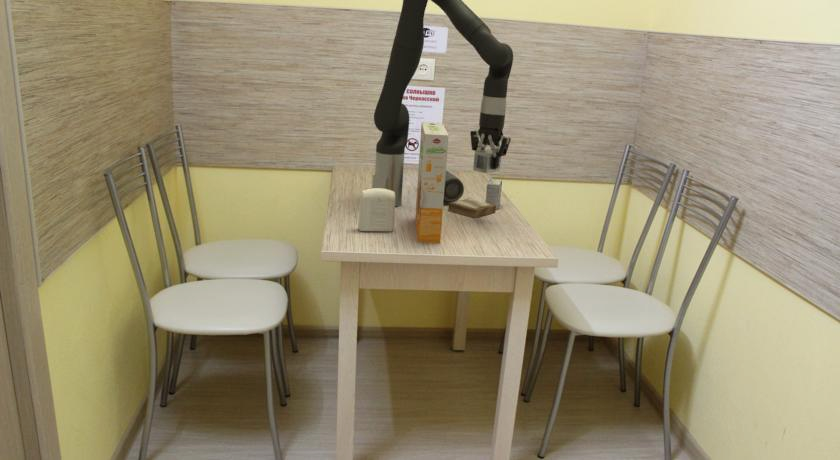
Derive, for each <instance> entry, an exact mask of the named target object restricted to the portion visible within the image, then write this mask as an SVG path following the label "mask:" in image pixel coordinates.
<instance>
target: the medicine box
mask: <svg viewBox="0 0 840 460" xmlns="http://www.w3.org/2000/svg"><path fill="white" fill-rule="evenodd" d="M486 185H487V186H486V193H485V203H489V204H492V205H496V209H495V211H498V210H499V208H500V204H501V197H502V187H503V180H502V179H496V178H495V179H492V178H491V179H489V180H488V183H486Z"/></svg>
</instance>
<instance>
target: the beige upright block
mask: <svg viewBox="0 0 840 460" xmlns="http://www.w3.org/2000/svg"><path fill="white" fill-rule="evenodd" d="M395 201H396V199H395V193H394V192H393V191H391V190H388V189H382V188H373V189H372V188H368V189H365V190H362V191H361V195H360V198H359V216H358V230H359V231H360V232H393V231H394V230H395V229H394V227H395V215H396V214H395V213H396V206H395Z"/></svg>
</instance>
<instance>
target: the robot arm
mask: <svg viewBox="0 0 840 460" xmlns="http://www.w3.org/2000/svg"><path fill="white" fill-rule="evenodd" d="M430 1H431V2H432V3H434V4H435V5H436V6H438V8H440V9H441V10H442V11H443V13H445V15H446V16H447V17H448V19H449V21H450V22H451V24H452V26H453V27H454V28H455V30H457V31H458V33H459V34H460V35H461V36H462V37H463V38H464V39H465V40H466V41H467V42H468V43H469V44H470V45H471V46H472V47H473V48H474V49H475V51H476V53H477V54H478V55H479V56H480V58H481V59H482V60H483V61H484V63H486V64H487V65H488V66H489V68H488V74H487V76H486V77H485V78H484V82H483V90H482V91H483V92H482V98H481V102H480V111H479V120H478V122H479V123H478V126H479V128H478V130H471V131H470V133H469V134H470V144H471V145H470V146H471V150H472V151H474V152H475V151H477V150H485V149H487V147H488V146H489V147H490V149H491V150H492V153H493V158H492V167H491V168H492V169H497V168H498V166H499V158H500V157H501V158H502V157H506V155H507V152H508V150H509V146H510V143H511V141H512V139H511V137H509V136H508V137H507V136H506V135H504V133H503V130H504V127H505V119H506V111H507V95H508V87H509V86H508V83H509V79H510V75H511V72H512V68H513V63H514V51H513V49H512V47H511V45H509V44H507V43H505V42H500V41H499V40H498V39H497V38H496V37H495V36H494V35H493V34H492V31H491V29H490V28H489V26H488V25H487V24H486V23H485V22H484V21H483V20H482V19H481V18H480V17H479V16H478V15H477V14H476V13H475V12H474V10H472V9H471V8H470V7H469V6H468V5H467V4H466V3H465V2H464V1H463V0H430ZM428 2H429V0H402V5H401V11H400V15H399V19H398V23H397V28H396V31H395V35H394V38H393V43H392V47H391V51H390V55H389V61H388V65H387V69H386V74H385V77H384V82H383V86H382V90H381V93H380V95H379V98H378V101H377V103H376V107H375V109H374V114H373V121H374V125H375V128H376V129H378V131H380V132H381V136H380V138H379V140H378V141H377V143H376V145H375V147H376V148H375V165H374V166H375V167H374V174H373V175H372V181H371V183H372V185H371V189H373V188H382V189H388V190H391V191H393V192H394V193H395V199H396V201H395V207H399V206H401V205H402V198H403V182H404V165H405V151H406V150H405V149H406V146H407V143H408V137H409V131H410V112H409V109H408V108H407V106H406V105H405V104H404V103H403V99H404V95H405V92H406V90H407V87H408V86H409V85H410V83H411V81H412V79H413V77H414V75H415V73H416V72H417V69H418V68H419V66H420V61H421V58H422V57H421V56H422V53H423V51H424V45H425V31H424V28H425V27H424V18H425V12H426V8H427V5H428Z"/></svg>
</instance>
